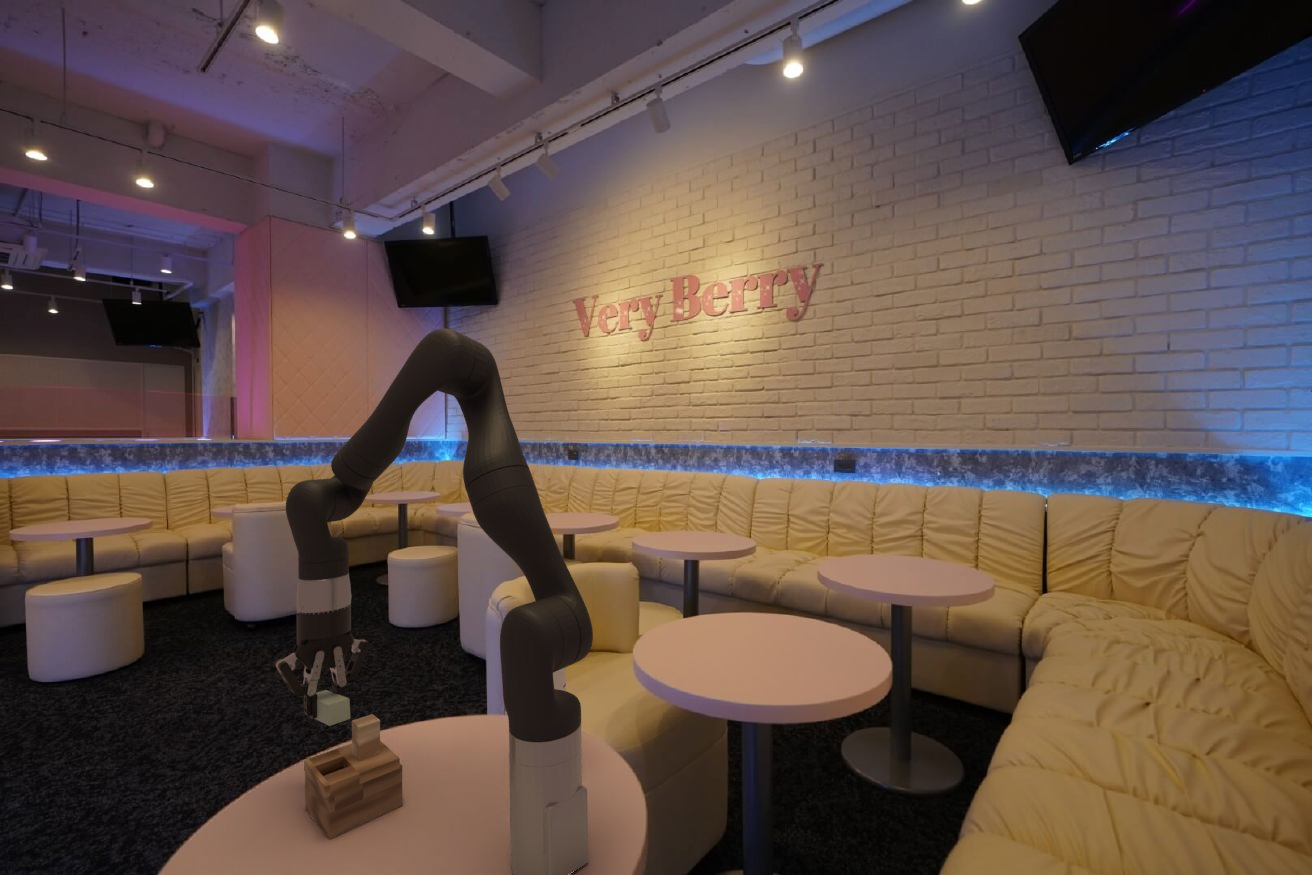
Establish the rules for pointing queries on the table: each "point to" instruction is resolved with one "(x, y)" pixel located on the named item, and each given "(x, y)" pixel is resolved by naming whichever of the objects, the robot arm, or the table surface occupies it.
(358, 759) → the lid
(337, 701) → the green square block
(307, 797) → the box
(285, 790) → the table surface
